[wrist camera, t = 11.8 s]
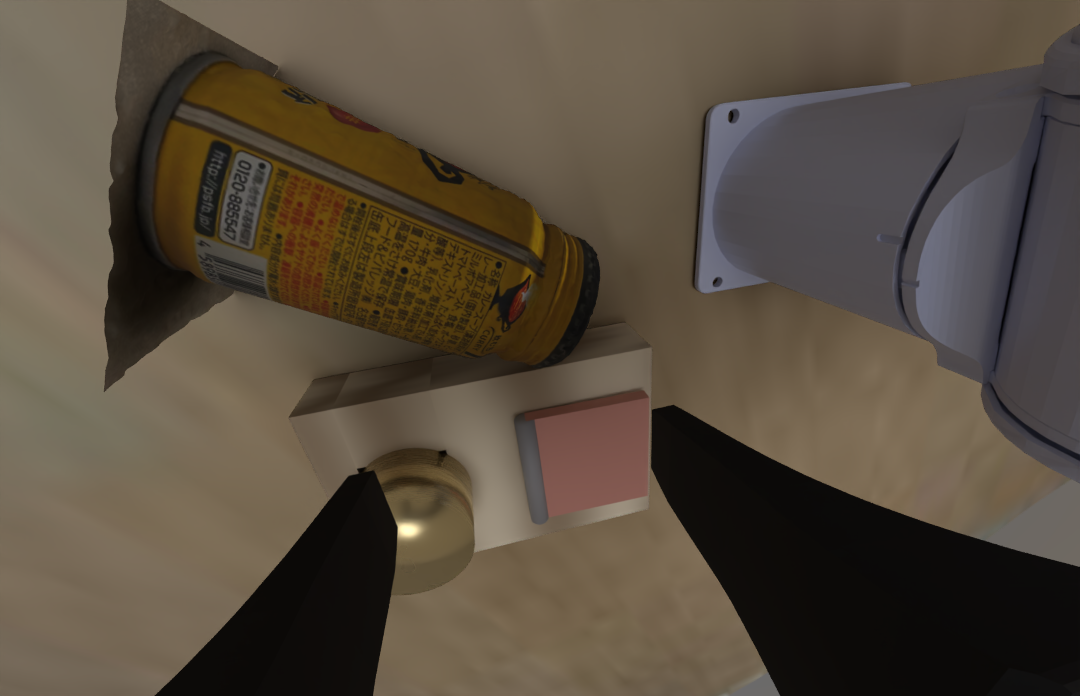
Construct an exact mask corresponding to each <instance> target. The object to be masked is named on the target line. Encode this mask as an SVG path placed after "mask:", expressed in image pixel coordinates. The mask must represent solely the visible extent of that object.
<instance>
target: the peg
mask: <svg viewBox="0 0 1080 696" xmlns="http://www.w3.org/2000/svg"><path fill="white" fill-rule="evenodd" d="M372 470H374V471H375V473H376V475H377V478H378V480H379V483H380V485H381V488H382V490H383V492H384V495H385V497H386V500H387V502H388V504H389V507H390V509H391V512H392V514H393V517H394V519H395V521H396V524H397V526H398V536H397V554H396V568H395V575H394V581H393V586H392V592H391V595H411V594H417V593H421V592H425V591H429V590H432V589H435V588H437V587H439V586H442V585H444V584H445V583H447V582H449V581H451V580H452V579H453V578H455V577H456V576H457V575H459V574H460V573H461V572H462V571H463V570H464V569H465V568H466V566H467V565H468V563H469V562H470V560H471V558H472V556H473V553H474V548H475V535H474V514H473V493H472V482H471V478H470V476H469V473H468V472H467V470H466V469H465V468H464V466H463V465H462V464H461V463H460V462H458V461H457V460H456V459H454V458H453V457H451V456H449V455H447V454H445V450H442V451H437V450H432V449H426V448H407V449H400V450H396V451H392V452H389V453H387V454H384V455H382V456H380V457H378V458H377V459H375V460H373V461H372V462H371V463H369V464H368V465H367V466H366V467H365V468H364V469H363V470H362V471H361V473H363V472H368V471H372Z"/></svg>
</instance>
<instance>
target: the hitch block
mask: <svg viewBox="0 0 1080 696" xmlns="http://www.w3.org/2000/svg"><path fill="white" fill-rule="evenodd" d="M651 379H652V347H651V346H650V345H649V344H648V343H647V342H646V341H645V340H644V339H643V338H642V337H641V336H640V335H639V334H638V333H637V332H635V331H634V330H633V329H632V328H631V327H630V326H629V325H628V324H627V323H626V322H624V323H618V324H613V325H608V326H602V327H597V328H591V329H586V330H585V332H584V334H583V336H582V338H581V339H580V341H579V343H578V344H577V346H576V347H575V348H574V350H573V351H572V352H571V354H570V355H569V356H567V357H566V358H565V359H564V360H563V361H562V362H559V363H557V364H555V365H552V366H550V367H543V368H541V369H539V368H533V367H532V366H530V365H527V364H525V363H523V362H518V361H505V360H503V359H501V358H500V357H499V356H498V355H497V354H496V353H495V354H489V355H486V356H484V357H481V358H476V359H469V358H464V357H461V356H458V355H454V354H451V355H445V356H440V357H434V358H429V359H423V360H418V361H413V362H407V363H402V364H396V365H391V366H386V367H380V368H375V369H369V370H364V371H358V372H353V373H348V374H342V375H337V376H331V377H326V378H321V379H315V380H313V381H312V383H311V385H310V386H309V388H308V389H307V391H306V392H305V394H304V395H303V397H302V398H301V400H300V401H299V403H298V404H297V406H296V407H295V409H294V410H293V412H292V413H291V415H290V416H289V420H290V422H291V424H292V427H293V429H294V431H295V433H296V435H297V437H298V439H299V441H300V443H301V445H302V447H303V449H304V451H305V453H306V455H307V457H308V459H309V461H310V463H311V465H312V467H313V469H314V471H315V473H316V475H317V477H318V479H319V481H320V483H321V485H322V487H323V489H324V491H325V493H326V495H327V497H328V499H329V500H330V499H331V497H332V496H333V495H334V493H335V492H336V491H337V490H338V488H339V487H340V486H341V484H342V483H343V482H344V481H345V480H346V478H347V477H348V476H349V475H354V474H359V473H361V471H362V470H363V469H364V468H365V467H366V466H367V465H368V464H369V463H371V462H372V461H373V460H375V459H377V458H378V457H380V456H382V455H384V454H387V453H389V452H392V451H396V450H400V449H407V448H426V449H432V450H437V451H442V450H446V452H447V455H449V456H451V457H453V458H454V459H456V460H457V461H458V462H460V463H461V464H462V465H463V466H464V468H465V469H466V470H467V472H468V473H469V476H470V478H471V482H472V493H473V514H474V535H475V548H474V552H478V551H482V550H486V549H490V548H494V547H498V546H502V545H506V544H510V543H514V542H518V541H522V540H526V539H530V538H534V537H538V536H542V535H546V534H550V533H554V532H558V531H562V530H566V529H570V528H574V527H578V526H582V525H586V524H590V523H594V522H598V521H602V520H606V519H610V518H614V517H618V516H622V515H626V514H630V513H634V512H638V511H642V510H646V509H649V477H650V428H651ZM643 390H644V391H645V392H646V394H647V395H648V396H649V450H648V496H645V497H640V498H635V499H631V500H626V501H622V502H617V503H613V504H608V505H603V506H599V507H594V508H590V509H585V510H581V511H576V512H571V513H567V514H562V515H558V516H553V517H549V519H548V520H547V522H545V523H544V524H541V525H538V524H535V523H533V522H532V520H531V516H530V510H529V505H528V499H527V493H526V488H525V482H524V476H523V470H522V465H521V459H520V453H519V448H518V442H517V436H516V430H515V425H514V419H515V417H516V416H517V415H519V414H522V413H527V412H533V411H538V410H543V409H548V408H554V407H559V406H564V405H569V404H575V403H580V402H585V401H590V400H596V399H601V398H606V397H611V396H617V395H622V394H627V393H632V392H638V391H643Z"/></svg>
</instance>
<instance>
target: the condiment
mask: <svg viewBox="0 0 1080 696" xmlns="http://www.w3.org/2000/svg"><path fill="white" fill-rule="evenodd" d="M277 70H278V66H277V65H275V64H273V63H271V62H269V61H268V60H266V59H264V58H263V57H260V56H258V55H257V54H255V53H253V52H251V51H249V50H247V49H246V48H244V47H242V46H240V45H239V44H237V43H235V42H233V41H231V40H229V39H227V38H226V37H224V36H222V35H220V34H219V33H217V32H215V31H213V30H211V29H210V28H208V27H206V26H204V25H202V24H200V23H199V22H197V21H195V20H193V19H191V18H190V17H188V16H187V15H185V14H183V13H180V12H179V11H177V10H175V9H174V8H172V7H170V6H168V5H167V4H165V3H163V2H161V1H159V0H127V10H126V20H125V26H124V33H123V41H122V52H121V61H120V68H119V74H118V80H117V89H116V95H115V101H116V112H117V115H118V121H117V125H116V127H115V130H114V132H113V135H112V146H111V159H110V172H111V175H112V178H113V180H114V182H113V183H112V185H111V186H110V188H109V201H110V213H111V226H110V228H109V235H110V239H111V242H112V246H113V253H114V264H113V267H112V269H111V271H110V273H109V279H108V296H109V297H108V300H107V304H106V307H105V318H104V322H105V329H104V331H105V337H106V342H107V350H108V357H109V359H108V363H107V367H106V370H105V386H104V392H105V391H106V390H107V389H108V388H109V387H110V386H111V385H112V384H113V383H115V382H116V381H118V380H119V379H120V378H122V377H123V376H124V374H125V371H126V370H127V369H128V368H129V367H131V366H133V365H134V364H136V363H137V362H138V361H139V360H140V359H141V358H143V357H144V356H145V355H146V354H148V353H150V352H151V351H153V350H154V349H155V348H157V347H158V346H159V344H160V343H161V342H163V341H164V340H165V339H167V338H168V337H169V336H171V335H172V334H174V333H176V332H177V331H179V330H180V329H182V328H183V327H185V326H186V325H187V324H188V323H189V321H190V320H193V319H195V318H197V317H200V316H201V315H203V314H204V313H206V312H208V311H209V310H210V308H211V307H213V306H214V305H215V304H217V303H221V302H222V301H224V300H225V299H227V298H228V297H229V296H231V295H232V294H233V293H234V290H237V291H241V292H244V293H247V294H251V295H254V296H258V297H261V298H265V299H268V300H272V301H275V302H278V303H281V304H285V305H289V306H292V307H295V308H299V309H302V310H305V311H309V312H312V313H315V314H319V315H322V316H325V317H328V318H333V319H336V320H339V321H342V322H346V323H349V324H353V325H356V326H360V327H363V328H367V329H370V330H374V331H377V332H380V333H383V334H386V335H390V336H393V337H397V338H400V339H404V340H407V341H410V342H414V343H417V344H421V345H424V346H427V347H430V348H434V349H438V350H441V351H444V352H447V353H451V354H454V355H458V356H461V357H464V358H469V359H476V358H481V357H484V356H486V355H489V354H495V353H496V354H497V355H498V356H499V357H500V358H501V359H503V360H505V361H518V362H523V363H525V364H527V365H530V366H532V367H533V368H539V369H541V368H543V367H550V366H552V365H555V364H557V363H559V362H562V361H563V360H564V359H565V358H566V357H567V356H569V355H570V354H571V352H572V351H573V350H574V348H575V347H576V346H577V344H578V343H579V341H580V339H581V338H582V336H583V334H584V332H585V330H586V328H587V326H588V323H589V320H590V316H591V315H592V314H593V309H594V307H595V304H596V300H597V296H598V289H599V281H600V267H599V262H598V259H597V254H596V252H595V251H594V250H593V248H592V247H591V246H590V245H589V244H588V243H587V242H586V241H585V240H582V239H581V238H579V237H574V236H572V235H568V234H567V233H565V232H563V231H562V230H561V229H560V228H558V227H556V226H555V225H552V224H544V223H542V221H541V219H540V218H539V217H538V214H537V212H536V211H535V209H534V208H533V206H532V205H531V204H530V203H529V202H527V201H526V200H525V199H520V198H519V197H518V196H517V195H515V194H512V193H510V192H509V191H505V190H502V189H499V188H498V187H496V186H494V185H492V184H491V183H489V182H486V181H484V180H482V179H480V178H478V177H476V176H475V175H473V174H471V173H469V172H466V171H464V170H462V169H461V168H459V167H456V166H454V165H452V164H449V163H447V162H446V161H443V160H441V159H439V158H437V157H436V156H434V155H432V154H430V153H428V152H426V151H424V150H423V149H419V148H416V147H414V146H413V145H411V144H409V143H407V142H406V141H404V140H402V139H398V138H397V137H395V136H394V135H392V134H391V133H388V132H385V131H381V130H380V129H378V128H376V127H374V126H372V125H369V124H367V123H365V122H363V121H361V120H360V119H358V118H356V117H354V116H352V115H351V114H349V113H347V112H344V111H342V110H341V109H339V108H337V107H335V106H333V105H330V104H328V103H325V102H323V101H321V100H319V99H317V98H315V97H313V96H311V95H309V94H307V93H305V92H303V91H300V90H299V89H298V88H297V87H294V86H290V85H288V84H285V83H284V82H282V81H281V80H279V79H277V78H274V77H273V76H274V74H275V73H276V71H277Z"/></svg>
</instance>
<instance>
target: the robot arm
mask: <svg viewBox="0 0 1080 696" xmlns="http://www.w3.org/2000/svg"><path fill="white" fill-rule="evenodd" d="M730 111H732V112H733V120H732V121H731V123H730V122H729V121H728V114H729V112H730ZM716 277H717V278H718V280H717V282H716V283H715V284H714V285H713V280H714V279H715V278H716ZM767 282H772V283H775V284H778V285H780V286H783V287H786V288H788V289H791V290H794V291H796V292H799V293H802V294H804V295H807V296H810V297H812V298H815V299H818V300H820V301H823V302H826V303H828V304H831V305H834V306H836V307H839V308H842V309H844V310H847V311H850V312H852V313H855V314H858V315H860V316H863V317H866V318H868V319H871V320H874V321H876V322H879V323H882V324H884V325H887V326H890V327H892V328H895V329H898V330H900V331H903V332H905V333H908V334H911V335H913V336H916V337H919V338H921V339H924V340H927V341H929V342H930V343H932V344H933V345H934V347H935V349H936V351H937V363H938V365H939V366H941V367H944V368H946V369H948V370H951V371H953V372H956V373H958V374H960V375H963V376H965V377H967V378H970V379H972V380H975V381H977V382H979V383H982V389H981V398H982V402H983V406H984V409H985V412H986V413H987V415H988V417H989V418H990V420H991V422H992V423H993V424H994V426H995V427H996V428H997V429H998V430H999V431H1000V432H1001V433H1002V434H1003V435H1004V436H1005V437H1006V438H1007V439H1008V440H1009V441H1011V442H1012V443H1013V444H1014V445H1016V446H1017V447H1018V448H1019V449H1021V450H1022V451H1023V452H1024V453H1026V454H1028V455H1029V456H1031V457H1032V458H1034V459H1036V460H1037V461H1039V462H1040V463H1042V464H1044V465H1045V466H1047V467H1048V468H1050V469H1052V470H1054V471H1056V472H1058V473H1060V474H1062V475H1064V476H1066V477H1068V478H1070V479H1072V480H1074V481H1076V482H1078V483H1080V24H1079V25H1078V26H1076V27H1074V28H1072V29H1071V30H1069V31H1068V32H1067V33H1065V34H1064V35H1062V36H1061V37H1059V38H1058V39H1057V40H1056V41H1055V42H1054V43H1053V44H1052V45H1051V46H1050V47H1049V48H1048V49H1047V51H1046V53H1045V55H1044V64H1039V65H1033V66H1027V67H1021V68H1016V69H1010V70H1004V71H998V72H992V73H986V74H980V75H975V76H969V77H963V78H957V79H951V80H945V81H939V82H934V83H928V84H922V85H916V86H911V84H910V83H908V82H902V83H893V84H885V85H876V86H867V87H859V88H850V89H841V90H833V91H824V92H815V93H807V94H798V95H789V96H781V97H772V98H763V99H755V100H746V101H737V102H729V103H721V104H718V105H715V106H713V107H712V108H711V109H710V110H709V112H708V114H707V117H706V127H705V141H704V156H703V170H702V184H701V199H700V213H699V227H698V242H697V256H696V271H695V288H696V289H697V290H698V291H700V292H702V293H711V292H717V291H722V290H728V289H734V288H739V287H745V286H750V285H756V284H761V283H767ZM651 468H652V470H653V472H654V475H655V477H656V479H657V481H658V483H659V485H660V487H661V489H662V491H663V493H664V495H665V497H666V499H667V501H668V503H669V504H670V506H671V508H672V509H673V511H674V512H675V514H676V516H677V517H678V519H679V520H680V522H681V523H682V525H683V527H684V528H685V530H686V531H687V533H688V534H689V536H690V537H691V539H692V540H693V542H694V543H695V545H696V547H697V548H698V550H699V551H700V553H701V554H702V556H703V557H704V559H705V560H706V562H707V563H708V565H709V567H710V568H711V570H712V571H713V573H714V574H715V576H716V577H717V579H718V580H719V582H720V584H721V585H722V587H723V589H724V590H725V592H726V594H727V595H728V597H729V599H730V600H731V602H732V604H733V606H734V608H735V609H736V611H737V613H738V615H739V617H740V619H741V621H742V623H743V624H744V626H745V628H746V630H747V632H748V634H749V636H750V638H751V640H752V641H753V643H754V645H755V647H756V649H757V651H758V653H759V655H760V657H761V659H762V661H763V663H764V665H765V667H766V669H767V671H768V673H769V675H770V677H771V679H772V680H773V682H774V684H775V686H776V688H777V690H778V692H779V694H780V696H1080V567H1078V566H1074V565H1070V564H1066V563H1062V562H1059V561H1055V560H1051V559H1047V558H1043V557H1039V556H1036V555H1032V554H1028V553H1024V552H1020V551H1017V550H1014V549H1010V548H1007V547H1003V546H1000V545H997V544H993V543H990V542H987V541H983V540H980V539H977V538H973V537H970V536H967V535H963V534H960V533H957V532H954V531H951V530H948V529H945V528H942V527H938V526H935V525H932V524H929V523H926V522H923V521H920V520H918V519H915V518H912V517H909V516H906V515H904V514H901V513H898V512H895V511H892V510H890V509H887V508H884V507H881V506H878V505H876V504H873V503H871V502H868V501H865V500H863V499H860V498H858V497H855V496H853V495H850V494H848V493H846V492H843V491H841V490H839V489H836V488H834V487H831V486H829V485H827V484H824V483H822V482H820V481H817V480H815V479H813V478H811V477H808V476H806V475H804V474H802V473H800V472H798V471H796V470H793V469H791V468H789V467H787V466H785V465H783V464H781V463H779V462H777V461H775V460H773V459H771V458H769V457H767V456H765V455H763V454H761V453H759V452H757V451H756V450H754V449H752V448H750V447H748V446H746V445H744V444H743V443H741V442H739V441H737V440H735V439H733V438H732V437H730V436H728V435H726V434H725V433H723V432H721V431H719V430H717V429H716V428H714V427H712V426H710V425H709V424H707V423H705V422H703V421H702V420H700V419H698V418H697V417H695V416H693V415H691V414H690V413H688V412H686V411H684V410H682V409H681V408H679V407H677V406H675V405H671V406H666V407H662V408H657V409H653V410H652V449H651ZM397 536H398V526H397V524H396V521H395V519H394V517H393V514H392V512H391V509H390V507H389V504H388V502H387V500H386V497H385V495H384V492H383V490H382V488H381V485H380V483H379V480H378V478H377V475H376V473H375V471H374V470H372V471H368V472H363V473H359V474H354V475H349V476H348V477H347V478H346V480H345V481H344V482H343V483H342V484H341V486H340V487H339V488H338V490H337V491H336V492H335V493H334V495H333V496H332V497H331V499H330V500H329V501H328V502H327V504H326V505H325V506H324V508H323V509H322V510H321V512H320V513H319V514H318V515H317V517H316V518H315V519H314V521H313V522H312V523H311V524H310V526H309V527H308V528H307V529H306V531H305V532H304V533H303V534H302V536H301V537H300V538H299V539H298V541H297V542H296V543H295V544H294V546H293V547H292V548H291V549H290V551H289V552H288V553H287V554H286V556H285V557H284V558H283V559H282V560H281V562H280V563H279V564H278V565H277V566H276V567H275V568H274V570H273V571H272V572H271V573H270V574H269V575H268V577H267V578H266V579H265V580H264V581H263V582H262V584H261V585H260V586H259V587H258V588H257V589H256V591H255V592H254V593H253V594H252V595H251V596H250V598H249V599H248V600H247V601H246V602H245V603H244V605H243V606H242V607H241V608H240V609H239V610H238V611H237V612H236V613H235V615H234V616H233V617H232V618H231V619H230V620H229V621H228V622H227V623H226V624H225V625H224V626H223V627H222V629H221V630H220V631H219V632H218V633H217V634H216V635H215V636H214V637H213V638H212V639H211V640H210V641H209V642H208V643H207V644H206V645H205V646H204V647H203V648H202V649H201V650H200V651H199V652H198V653H197V655H196V656H195V657H194V658H193V659H192V660H191V661H190V662H189V663H188V664H187V665H186V666H185V667H184V668H183V669H182V670H181V671H180V672H179V673H178V674H177V675H176V676H175V677H174V678H173V679H172V680H171V681H170V682H169V683H167V684H166V685H165V686H164V687H163V688H162V689H161V690H160V691H159V692H158V693H157V694H156V695H155V696H373V692H374V685H375V678H376V673H377V667H378V662H379V657H380V651H381V646H382V640H383V635H384V630H385V624H386V619H387V614H388V608H389V603H390V597H391V592H392V586H393V581H394V575H395V568H396V554H397Z"/></svg>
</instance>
